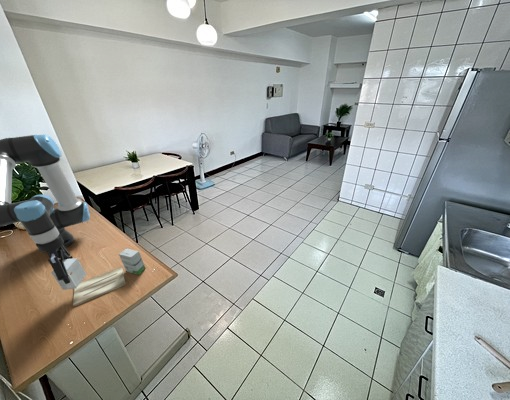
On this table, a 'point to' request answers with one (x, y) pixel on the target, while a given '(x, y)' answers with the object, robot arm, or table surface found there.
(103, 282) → the board
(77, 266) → the small box
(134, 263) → the ink box
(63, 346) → the table surface
